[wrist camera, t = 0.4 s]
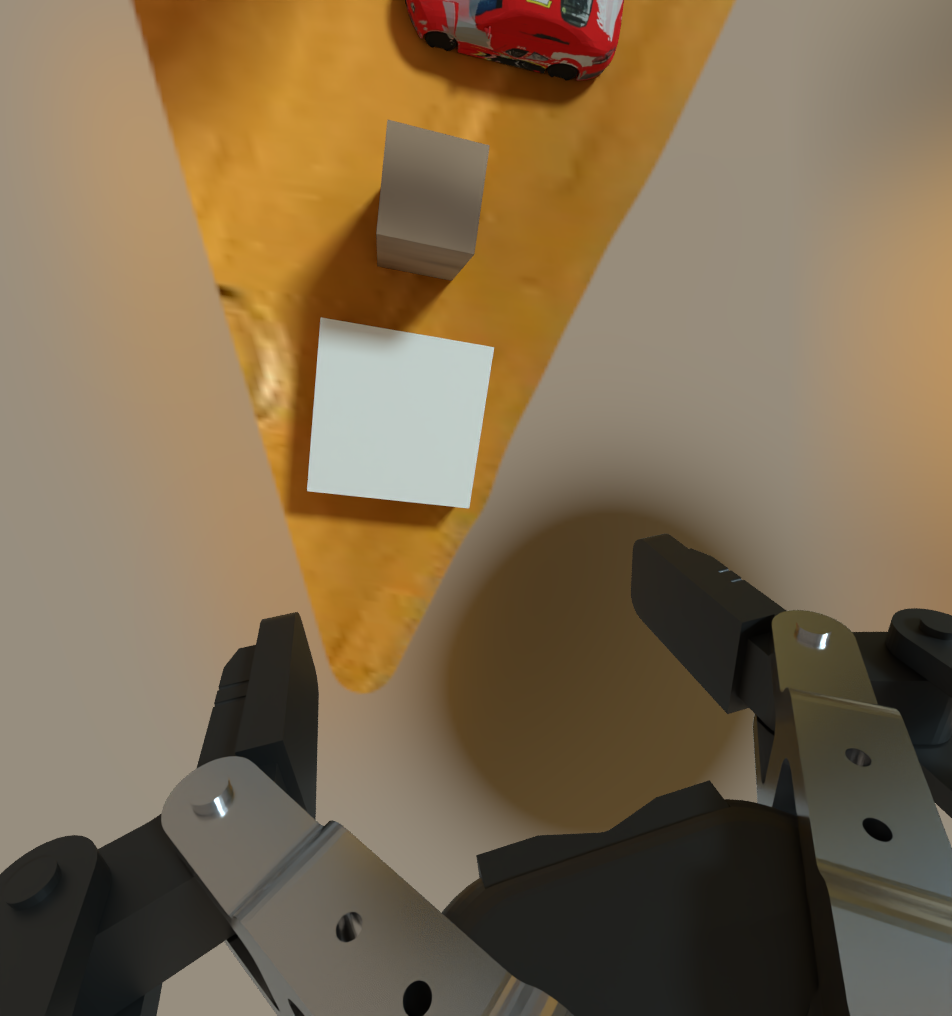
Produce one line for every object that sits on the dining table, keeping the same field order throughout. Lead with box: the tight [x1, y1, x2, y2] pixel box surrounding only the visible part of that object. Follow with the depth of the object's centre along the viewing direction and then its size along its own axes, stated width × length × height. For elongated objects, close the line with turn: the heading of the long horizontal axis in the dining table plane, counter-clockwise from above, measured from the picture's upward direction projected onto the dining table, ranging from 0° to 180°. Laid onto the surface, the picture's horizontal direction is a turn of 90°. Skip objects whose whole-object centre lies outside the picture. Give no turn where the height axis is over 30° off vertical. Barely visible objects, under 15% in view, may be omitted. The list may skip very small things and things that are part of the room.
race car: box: [405, 0, 624, 80], centre depth 31 cm, size 13×5×4 cm, turn 82°
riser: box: [307, 317, 494, 508], centre depth 36 cm, size 11×11×3 cm
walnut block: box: [376, 120, 489, 281], centre depth 30 cm, size 5×5×9 cm
